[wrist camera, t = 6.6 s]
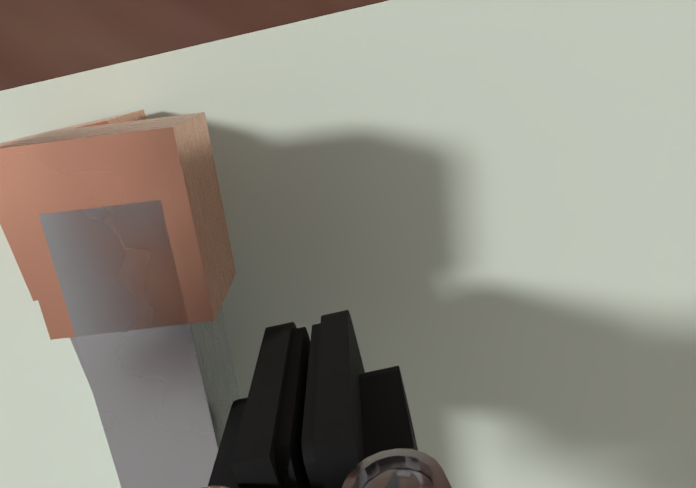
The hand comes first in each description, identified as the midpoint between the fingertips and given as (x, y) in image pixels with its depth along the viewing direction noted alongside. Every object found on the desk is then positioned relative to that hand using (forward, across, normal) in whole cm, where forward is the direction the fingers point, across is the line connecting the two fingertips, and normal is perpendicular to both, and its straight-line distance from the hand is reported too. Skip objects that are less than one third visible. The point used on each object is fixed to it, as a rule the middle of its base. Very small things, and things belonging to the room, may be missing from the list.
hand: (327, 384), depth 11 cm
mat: (+3, 0, +6) cm, 7 cm away
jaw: (0, +3, +3) cm, 4 cm away
